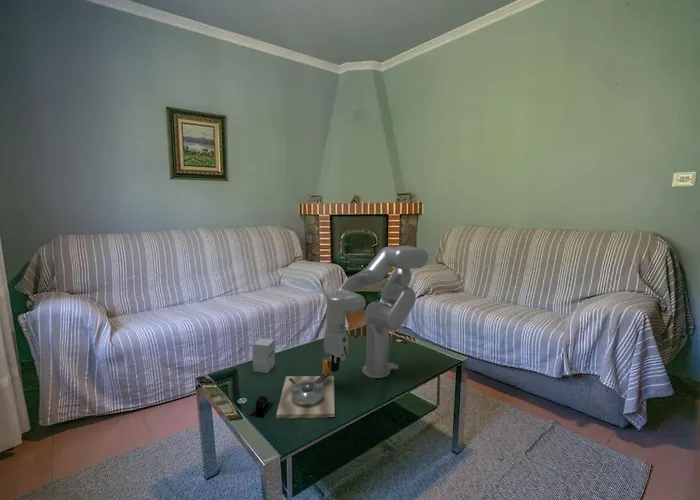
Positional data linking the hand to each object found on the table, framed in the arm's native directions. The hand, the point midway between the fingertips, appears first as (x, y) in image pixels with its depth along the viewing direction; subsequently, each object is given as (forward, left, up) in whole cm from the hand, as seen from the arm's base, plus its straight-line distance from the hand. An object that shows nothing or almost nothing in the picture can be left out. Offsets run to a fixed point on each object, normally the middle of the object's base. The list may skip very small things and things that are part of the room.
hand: (334, 370), depth 136 cm
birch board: (+10, +6, -8) cm, 14 cm away
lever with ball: (+8, +5, -6) cm, 11 cm away
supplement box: (+31, -17, -8) cm, 37 cm away
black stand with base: (+26, +13, -8) cm, 31 cm away
